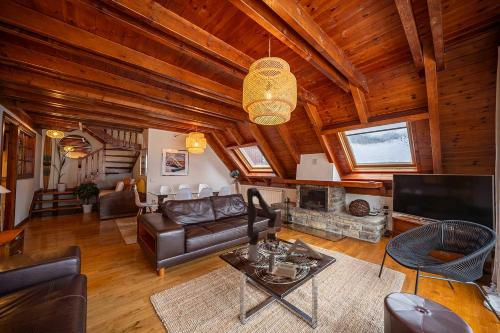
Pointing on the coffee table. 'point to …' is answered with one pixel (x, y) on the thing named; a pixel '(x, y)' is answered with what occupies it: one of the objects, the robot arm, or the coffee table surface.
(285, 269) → the well board
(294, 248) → the wall bracket
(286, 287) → the coffee table surface
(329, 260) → the coffee table surface
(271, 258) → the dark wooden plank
